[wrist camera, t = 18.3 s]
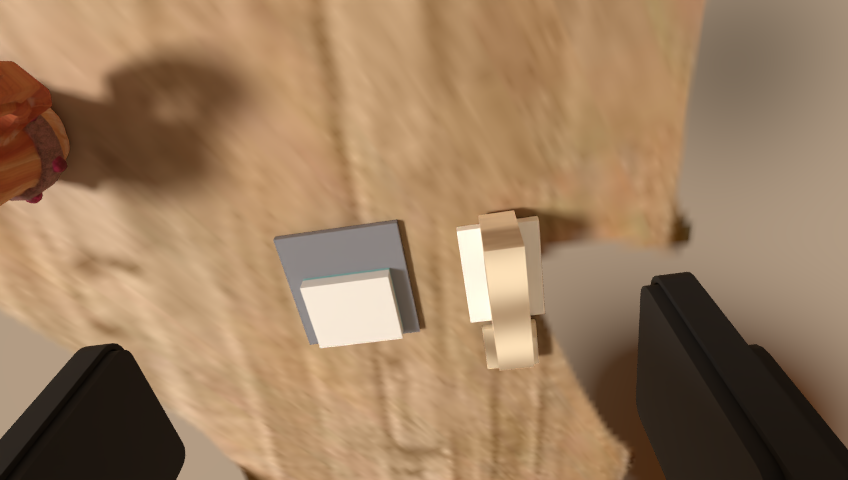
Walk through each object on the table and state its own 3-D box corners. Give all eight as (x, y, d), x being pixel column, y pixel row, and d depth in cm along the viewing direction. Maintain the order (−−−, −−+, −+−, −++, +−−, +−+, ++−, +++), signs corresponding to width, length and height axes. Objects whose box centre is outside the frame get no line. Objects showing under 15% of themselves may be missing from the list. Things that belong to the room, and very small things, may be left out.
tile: (299, 288, 47) (320, 348, 50) (388, 276, 46) (402, 338, 49) (303, 278, 48) (323, 337, 51) (389, 267, 47) (403, 328, 51)
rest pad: (456, 226, 46) (456, 231, 45) (537, 215, 45) (538, 220, 45) (470, 317, 51) (470, 322, 50) (543, 308, 50) (544, 313, 49)
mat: (275, 236, 47) (273, 240, 46) (396, 219, 46) (396, 222, 45) (311, 340, 52) (310, 344, 52) (420, 327, 51) (419, 331, 51)
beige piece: (466, 217, 44) (470, 253, 39) (525, 208, 44) (538, 244, 39) (486, 362, 52) (492, 409, 47) (537, 357, 52) (549, 403, 47)
